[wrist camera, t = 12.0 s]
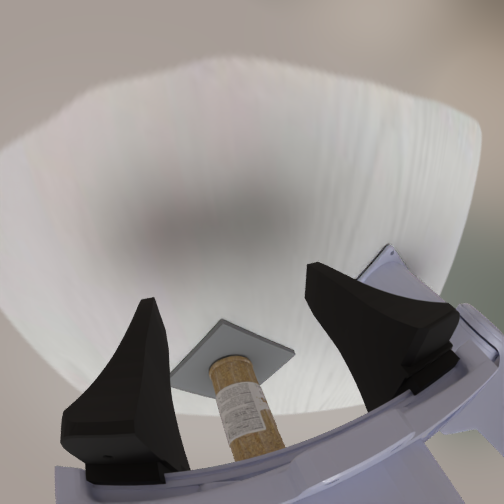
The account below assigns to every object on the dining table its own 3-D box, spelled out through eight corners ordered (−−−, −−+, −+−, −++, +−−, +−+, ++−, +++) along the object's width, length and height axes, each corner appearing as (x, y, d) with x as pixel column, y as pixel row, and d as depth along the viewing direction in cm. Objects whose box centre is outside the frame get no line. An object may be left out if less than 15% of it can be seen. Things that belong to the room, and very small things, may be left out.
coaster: (293, 350, 28) (295, 354, 28) (235, 399, 30) (236, 403, 30) (221, 319, 23) (223, 323, 23) (163, 380, 25) (164, 384, 24)
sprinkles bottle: (253, 373, 27) (301, 484, 16) (212, 385, 26) (249, 500, 15) (248, 347, 25) (304, 475, 14) (202, 360, 24) (241, 495, 13)
